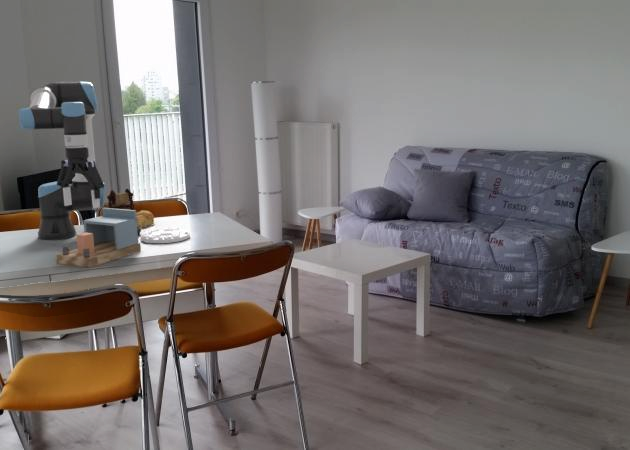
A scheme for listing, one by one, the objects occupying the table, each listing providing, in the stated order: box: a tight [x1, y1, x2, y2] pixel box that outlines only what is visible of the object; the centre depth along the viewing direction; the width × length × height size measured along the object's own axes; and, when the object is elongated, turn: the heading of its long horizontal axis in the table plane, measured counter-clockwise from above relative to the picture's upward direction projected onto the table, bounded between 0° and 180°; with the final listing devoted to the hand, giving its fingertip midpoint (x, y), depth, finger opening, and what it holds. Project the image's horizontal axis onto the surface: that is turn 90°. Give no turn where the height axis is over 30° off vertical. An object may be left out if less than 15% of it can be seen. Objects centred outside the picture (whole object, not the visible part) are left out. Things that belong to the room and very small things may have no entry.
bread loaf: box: [136, 209, 155, 229], centre depth 293 cm, size 21×10×8 cm, turn 6°
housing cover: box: [82, 207, 139, 250], centre depth 239 cm, size 16×11×13 cm
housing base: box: [55, 241, 142, 268], centre depth 234 cm, size 16×26×6 cm, turn 154°
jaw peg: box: [75, 232, 95, 255], centre depth 228 cm, size 4×4×10 cm
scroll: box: [106, 188, 142, 237], centre depth 269 cm, size 15×15×20 cm
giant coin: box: [140, 227, 190, 244], centre depth 263 cm, size 20×20×3 cm
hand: (82, 206), depth 225 cm, fingers open, 13 cm apart
